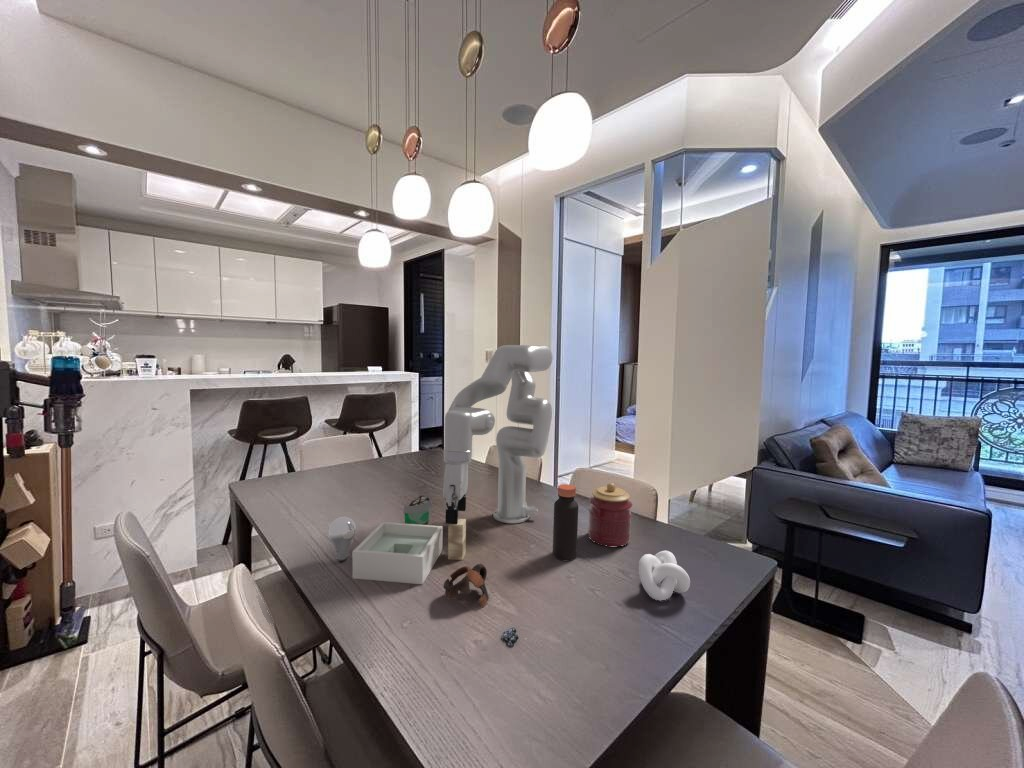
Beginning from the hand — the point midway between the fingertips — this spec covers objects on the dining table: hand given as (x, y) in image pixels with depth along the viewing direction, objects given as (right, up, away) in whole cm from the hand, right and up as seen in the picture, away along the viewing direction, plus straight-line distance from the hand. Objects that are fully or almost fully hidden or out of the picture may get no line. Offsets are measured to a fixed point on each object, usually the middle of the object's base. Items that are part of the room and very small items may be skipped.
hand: (455, 516), depth 115 cm
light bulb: (-31, -11, -2) cm, 33 cm away
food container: (-13, -10, +17) cm, 24 cm away
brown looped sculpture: (+6, -14, -17) cm, 23 cm away
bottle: (+30, -12, +3) cm, 33 cm away
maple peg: (0, -12, +2) cm, 12 cm away
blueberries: (+16, -15, -31) cm, 38 cm away
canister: (+46, -12, +15) cm, 49 cm away
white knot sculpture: (+52, -14, -13) cm, 55 cm away
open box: (-15, -12, -3) cm, 19 cm away
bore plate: (-15, -12, -3) cm, 19 cm away
